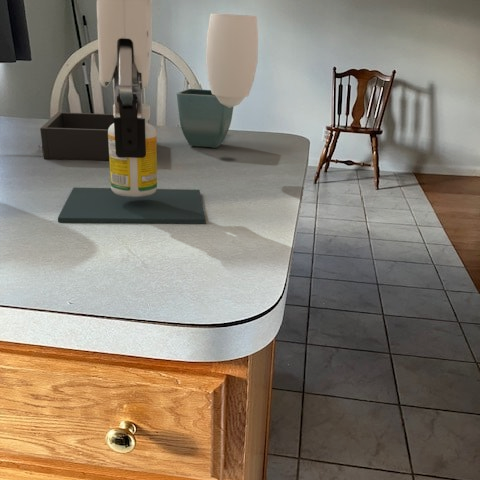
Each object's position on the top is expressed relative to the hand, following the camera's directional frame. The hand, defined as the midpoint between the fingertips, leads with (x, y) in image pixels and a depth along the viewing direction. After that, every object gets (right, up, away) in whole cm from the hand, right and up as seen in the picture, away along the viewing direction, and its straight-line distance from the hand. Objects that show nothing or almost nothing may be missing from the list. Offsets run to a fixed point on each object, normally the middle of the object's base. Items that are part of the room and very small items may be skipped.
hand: (132, 149), depth 62 cm
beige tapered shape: (+10, +3, +21) cm, 24 cm away
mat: (0, -6, +3) cm, 7 cm away
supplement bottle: (0, -4, +2) cm, 5 cm away
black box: (-11, +9, +29) cm, 32 cm away
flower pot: (+6, +12, +37) cm, 39 cm away
